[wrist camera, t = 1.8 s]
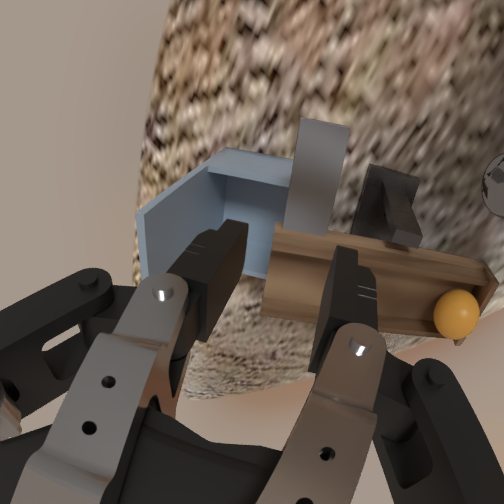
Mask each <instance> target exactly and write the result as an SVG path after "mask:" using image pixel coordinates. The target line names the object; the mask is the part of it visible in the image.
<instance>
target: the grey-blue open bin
mask: <svg viewBox="0 0 504 504" xmlns="http://www.w3.org/2000/svg"><path fill="white" fill-rule="evenodd" d="M293 161H294V160H292V159H287V158H282V157H277V156H272V155H267V154H261V153H256V152H250V151H245V150H239V149H233V148H227V147H226V148H224V149H223V150H221V151H220V152H218V153H217V154H215V155H214V156H212V157H211V158H210V159H208V160H207V161H205V162H204V163H202V164H201V165H199V166H198V167H197V168H195V169H194V170H192V171H191V172H190V173H188V174H187V175H185V176H184V177H183V178H181V179H180V180H178V181H177V182H176V183H174V184H173V185H172V186H170V187H169V188H168V189H166V190H165V191H163V192H162V193H161V194H159V195H158V196H157V197H156V198H154V199H153V200H152V201H150V202H149V203H148V204H146V205H145V206H144V207H142V208H141V209H140V210H139V211H137V212H136V225H137V237H138V248H139V257H140V267H141V275H142V280H143V279H145V278H146V277H148V276H150V275H153V274H157V273H166V272H167V271H168V269H169V268H170V267H171V266H172V265H173V263H174V262H175V261H176V260H177V259H178V257H179V256H180V255H181V254H182V253H183V251H185V249H186V248H187V247H188V245H189V244H191V242H192V241H193V240H194V238H195V237H196V236H197V235H198V234H200V233H202V232H204V231H206V230H208V229H213V230H218V229H219V228H220V226H221V225H222V224H223V223H224V221H225V220H226V219H232V220H237V221H241V222H245V223H248V224H249V230H248V239H247V247H246V256H245V263H244V268H243V271H242V274H245V275H249V276H253V277H257V278H261V279H265V280H266V277H267V271H268V265H269V259H270V253H271V248H272V242H273V236H274V230H275V223H276V221H277V222H283V219H284V213H285V208H286V202H287V196H288V190H289V184H290V179H291V173H292V167H293Z"/></svg>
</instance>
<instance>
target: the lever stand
mask: <svg viewBox="0 0 504 504" xmlns="http://www.w3.org/2000/svg"><path fill="white" fill-rule="evenodd" d="M419 182H420V180H419V179H418V177H415V176H411V175H408V174H405V173H401V172H398V171H395V170H391V169H388V168H384V167H380V166H377V165H373V164H369V168H368V172H367V176H366V180H365V184H364V187H363V191H362V195H361V199H360V202H359V206H358V210H357V213H356V217H355V220H354V224H353V227H352V231H351V235H357V236H362V237H367V238H372V239H378V240H383V241H388V242H393V243H398V244H402V245H405V246H409V247H413V248H416V249H418V247H419V245H420V242H421V240H422V237H423V235H422V233H421V230H420V227H419V225H418V222H417V220H416V217H415V215H414V212H413V210H412V204H413V200H414V197H415V194H416V191H417V188H418V185H419Z"/></svg>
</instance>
